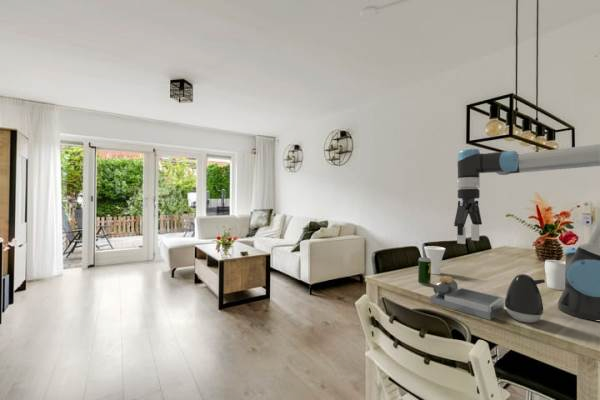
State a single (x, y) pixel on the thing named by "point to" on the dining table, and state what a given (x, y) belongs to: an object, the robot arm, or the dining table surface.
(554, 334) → the dining table surface
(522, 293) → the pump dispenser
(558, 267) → the cup
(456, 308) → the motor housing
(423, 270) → the green soda can
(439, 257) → the cup
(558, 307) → the robot arm
